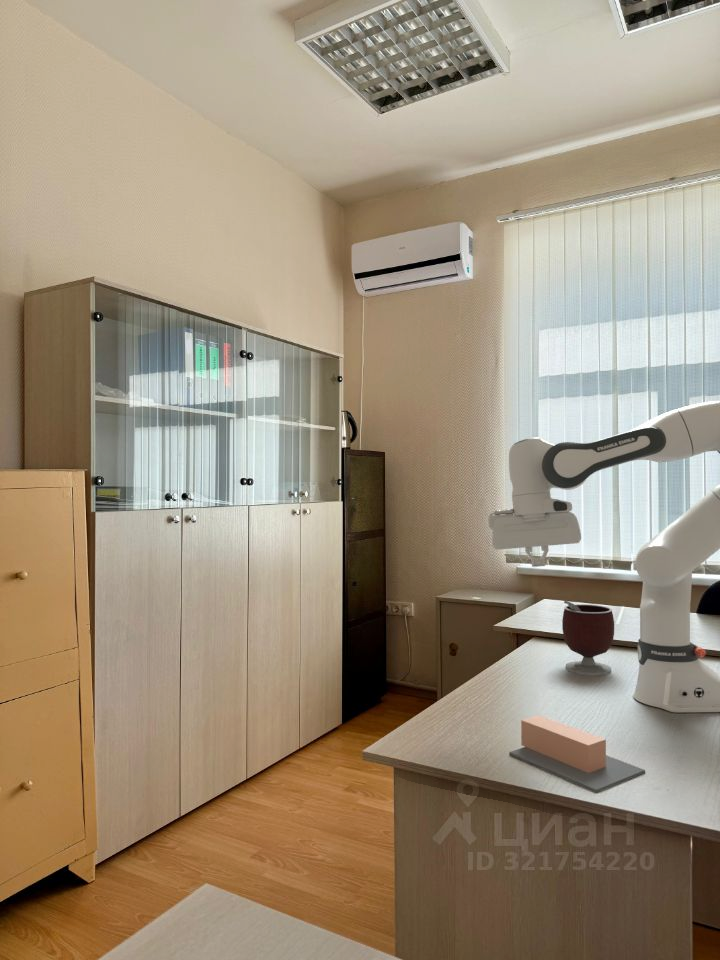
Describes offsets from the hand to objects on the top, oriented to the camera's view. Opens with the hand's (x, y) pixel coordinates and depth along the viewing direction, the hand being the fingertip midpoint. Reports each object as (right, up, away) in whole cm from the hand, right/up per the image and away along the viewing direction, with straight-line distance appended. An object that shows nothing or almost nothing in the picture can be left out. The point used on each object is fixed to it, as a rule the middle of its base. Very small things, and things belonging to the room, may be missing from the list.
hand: (538, 566), depth 161 cm
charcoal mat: (-1, -33, -31) cm, 45 cm away
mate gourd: (+22, -33, +33) cm, 52 cm away
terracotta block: (-7, -30, -22) cm, 38 cm away
